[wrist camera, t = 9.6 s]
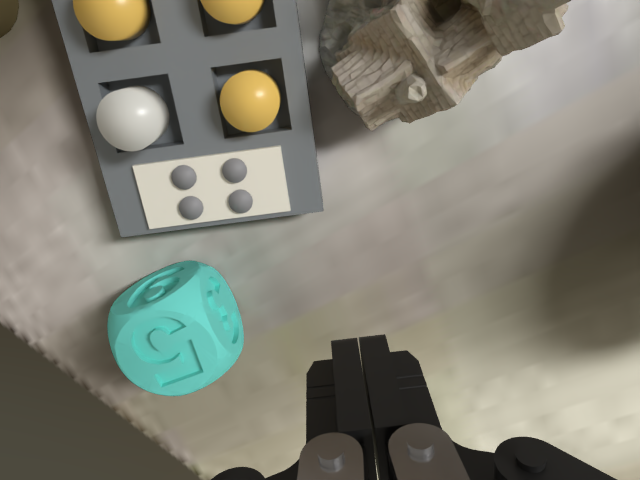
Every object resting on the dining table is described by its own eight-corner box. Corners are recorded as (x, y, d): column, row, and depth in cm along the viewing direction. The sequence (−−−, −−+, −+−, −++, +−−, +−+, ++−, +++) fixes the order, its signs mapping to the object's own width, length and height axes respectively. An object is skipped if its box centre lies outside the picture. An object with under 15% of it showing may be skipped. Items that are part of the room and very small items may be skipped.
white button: (105, 89, 36) (88, 94, 33) (161, 82, 36) (149, 85, 33) (121, 146, 37) (106, 155, 34) (175, 139, 37) (164, 147, 34)
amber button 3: (221, 73, 37) (214, 75, 34) (276, 65, 37) (273, 67, 34) (232, 128, 38) (226, 135, 36) (284, 121, 38) (282, 128, 35)
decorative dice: (171, 352, 48) (145, 410, 40) (127, 281, 45) (91, 329, 37) (249, 323, 47) (238, 377, 39) (209, 248, 44) (189, 292, 36)
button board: (57, -44, 36) (31, -53, 32) (285, -77, 35) (283, -90, 32) (133, 224, 43) (118, 240, 39) (322, 199, 42) (323, 214, 39)
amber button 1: (84, -19, 35) (64, -24, 32) (142, -28, 34) (127, -33, 32) (101, 44, 36) (83, 44, 33) (156, 36, 36) (144, 36, 33)
